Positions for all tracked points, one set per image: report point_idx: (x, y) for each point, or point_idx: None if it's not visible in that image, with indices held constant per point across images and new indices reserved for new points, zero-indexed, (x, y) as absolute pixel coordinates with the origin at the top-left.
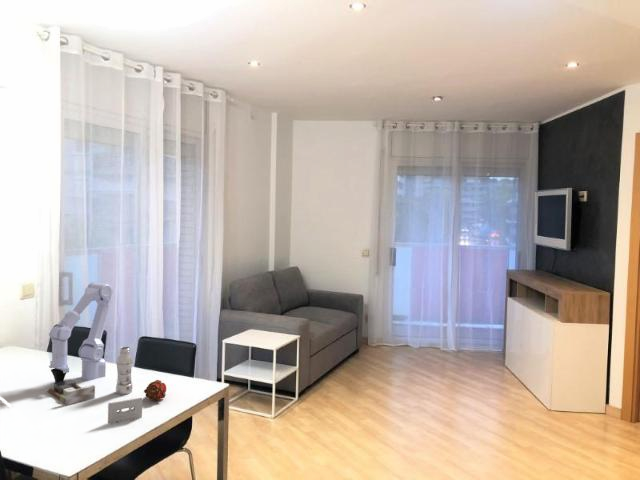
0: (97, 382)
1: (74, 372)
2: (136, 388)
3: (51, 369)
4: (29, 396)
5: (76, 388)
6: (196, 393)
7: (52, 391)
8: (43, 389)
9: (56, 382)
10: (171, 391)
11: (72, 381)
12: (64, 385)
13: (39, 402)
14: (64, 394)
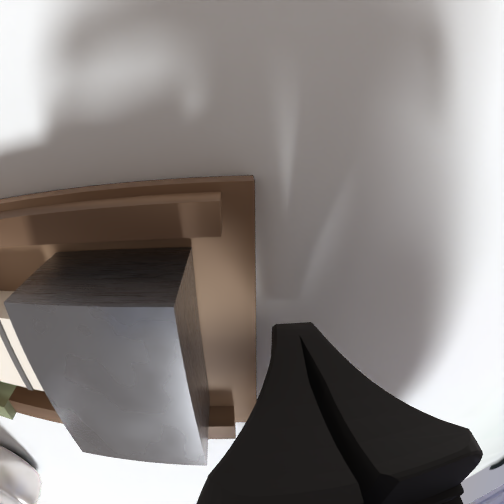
0: None
1: (479, 423)
2: (73, 498)
3: (475, 458)
4: (294, 7)
5: None
6: None
7: (85, 215)
8: (407, 203)
9: (176, 345)
10: None
11: (117, 449)
12: (36, 362)
13: (40, 53)
14: None
